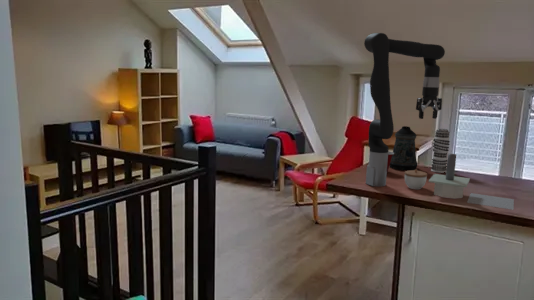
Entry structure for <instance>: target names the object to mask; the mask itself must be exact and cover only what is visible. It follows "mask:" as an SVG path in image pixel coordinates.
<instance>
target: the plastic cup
mask: <svg viewBox="0 0 534 300" xmlns="http://www.w3.org/2000/svg"><path fill="white" fill-rule="evenodd" d="M393 154H394V153H393V151H390V150H388V163H387V173H388V172H389V169H390V162H391V158H392V156H393Z"/></svg>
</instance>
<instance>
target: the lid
mask: <svg viewBox="0 0 534 300" xmlns="http://www.w3.org/2000/svg"><path fill="white" fill-rule="evenodd" d="M456 160H457V154H456V153H447V164H446V166H447V167H446V170H445V171H446V172H445V174H441V173H439V174H438V173H433V175H431V176H430V178H429V179H428V183H433V184H435V183H439V184H446V185H453V186H460V187H464V188H467V187H468V184H469V183H470V181H471V180H470V179H471V178H470V177H463V176H462V177H461V176H456V175H455V171H456V163H457V161H456Z"/></svg>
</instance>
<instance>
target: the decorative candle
mask: <svg viewBox="0 0 534 300" xmlns="http://www.w3.org/2000/svg"><path fill="white" fill-rule="evenodd" d="M434 132H435V134H434V138H433V139H432V141H433V142H432V152H433V154H432V159H431V164H430V165H431V167H430V171H431V172H434V173H437V174H438V173H439V174H441V173H442V174H443V173H444V172H445V173H446V169H447V159H448V154H449V149H450V146H449V145H451V144H450V142H451V141H450V133H451V132H450V131H449V129H446V128H438V129H436V130H435V131H434Z"/></svg>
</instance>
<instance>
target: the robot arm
mask: <svg viewBox="0 0 534 300" xmlns="http://www.w3.org/2000/svg"><path fill="white" fill-rule="evenodd" d="M363 43H364V44H363V45H364V48H365V50H367V52H369V53H372V55H373V68H372V70H371V71H372V72H371V76H370V80H369V87H370V91H369V92H370V96H371V98H372V99H371V100H373V102H374V105H375V106H376V108H377V110H378V114H379V119H372V121H371V122H370V124H369V127H368V147H369V154H368V164H367V165H366V173H365V184H366V185H369V186H370V187H385V186H386V185H387V173H388V172H387V163H388V151H390V150H389V149H390V148H389V146H388V145H387V144H386V143H385V142H384V140H389V139H391V138H392V137H393V134H394V129H395V128H394V120H393V114H392V106H391V103H392V102H391V87H390V85H391V82H390V81H391V80H390V68H389V67H390V63H389V61H390V60H389V59H390V57H389V56H390V53H391V54H396V55H402V56H406V57H413V58H423V59H422V60H423V64H424V66H423V67H424V75H423V76H424V77H423V80H422V93H421V96H422V97H417V99H416V105H415V106H416V107H415V110H416V111H418V119H419V120H423V119H424V115H425V110H426V109H427V108H431V109H432V110H433V111H432V120H433V119H437V118H438V112H439V111H441V110H442V104H443V99H442V97H438V96H439V90H440V89H439V88H440V75H441V74H440V73H441V68H440V65H438V64H437V61H438V60H441V59H442V58H444V56H445V54H446V49H445V48H444V47H443V45H440V44H433V43H422V42H418V41H412V40H401V39H400V40H398V39H392V38H389V37H388V35H387V34H386V33H383V32H374V33H371V34H368V35H367V36H366V37H365V39H364V42H363Z"/></svg>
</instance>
